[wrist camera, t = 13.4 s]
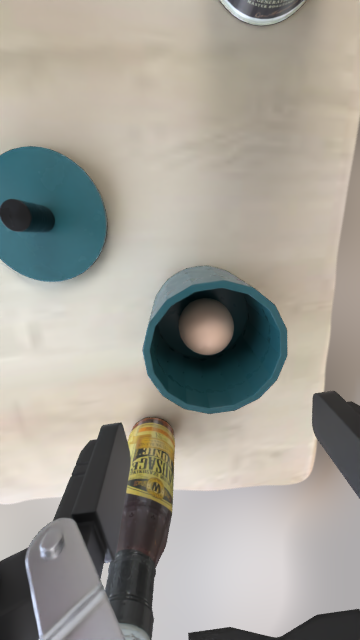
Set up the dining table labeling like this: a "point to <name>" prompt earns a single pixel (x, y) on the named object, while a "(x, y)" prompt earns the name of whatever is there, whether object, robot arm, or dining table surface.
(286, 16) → the coffee can
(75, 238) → the pot lid
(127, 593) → the sauce bottle
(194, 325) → the egg
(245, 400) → the pot
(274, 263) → the dining table surface
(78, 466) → the robot arm
